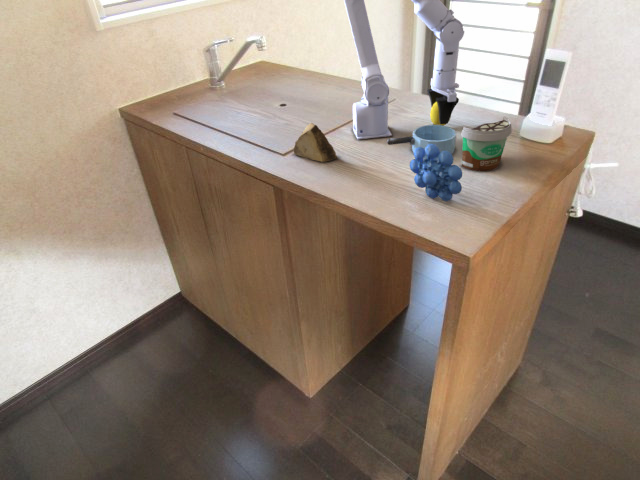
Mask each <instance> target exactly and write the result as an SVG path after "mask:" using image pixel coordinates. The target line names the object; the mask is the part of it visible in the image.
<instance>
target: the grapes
mask: <svg viewBox="0 0 640 480" xmlns="http://www.w3.org/2000/svg"><path fill="white" fill-rule="evenodd" d="M413 157H414V159H413V158H412V159H411V160H410V162H409V165H408V166H409V169H410V170H411V172H412V173H414V174H415V175H414V176H413V177H414V178H413V181H414V184H415V186H416V187H418V188H420V189H424V188H425V189H424V192H425V194H426V196H427V197H428V198H430V199H433V200H434V199H437V198H438V197H439V199H441V200H442V201H444V202H451V200H452V199H453V195H459V194H461V192H462V188H463V186H462V183H461V182H460V181H459V180H461V179H462V178H463V170H462V168H461V167H460V166H459V165H457V164H454V161H455V159H454V155H453V154H451V153H450V152H449V151H446V150H445V151H441V152H440V151H439V148H438V147H437V146H436V145H435V144H432V143H431V144H428V145H427V146H426V147H425V149H424V148H422V147H418V148H416V149H415V150H414V152H413Z"/></svg>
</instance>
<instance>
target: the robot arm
mask: <svg viewBox="0 0 640 480" xmlns="http://www.w3.org/2000/svg"><path fill="white" fill-rule="evenodd" d="M410 1H411V2H412V3H413V13H414V14H415V15H416V16H417V17H418V18H419V20H420V21H422V23H423V24H425V26H426V27H427V28H428V29H429V30H430V31H432V32H433V35H434V36H435V37H436V39H435V49H434V60H433V72H432V77H431V78H430V86H431V87H430V88H427V90H426V93H427V95H428V98H429V100H430V105H431V108H432V106H433V104H434V103H435V102H437V104H438V108H439V122H440V124H446V125H447V124H449V122H450V120H451V118H450V116H451V117H452V113H453V111H454V109H455V107H456V106H457V104H458V103H459V102H460V98H459V97H458V93H457V92H456V89H459V88H460V84H459V83H457V82H456V77H457V70H458V69H457V68H458V61H459V60H458V59H459V48H460V42H461V40H462V39H463V37H464V36H465V30H464V28H463V26H464V25H463V23H462V22H461V20H459V19H458V18H456V17H455V15H454V13H455V12H454V10H452V9H450V8H449V9H448V8H447V6H446V5H445V4H444V3H443V2H442V1H441V0H410ZM343 2H344V3H343V4H344V6H345V7H344V8H345V11H346V15H347V18H348V23H349V26H350V31H351V34H352V38H353V43H354V46H355V49H356V54H357V59H358V62H359V65H360V71H361V81H360V87H361V89H362V90H363V95H362V97H360V100H359V101H358V102H353V103H352V130H353V133H354V135H355V137H356V139H357V140H368V139H377V138H387V137H392V132H391V130H390V129H389V127H388V125H389V96H390V87H389V85H388V83H386V80H385V76H384V75H383V74H382V70H381V68H380V64H379V63H380V62H379V60H378V55H377V51H376V46H375V42H374V38H373V33H372V29H371V24H370V20H369V16H368V11H367V7H366V3H365V0H343ZM449 119H450V120H449Z"/></svg>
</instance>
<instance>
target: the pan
mask: <svg viewBox="0 0 640 480" xmlns="http://www.w3.org/2000/svg"><path fill="white" fill-rule="evenodd" d="M412 137H413V138H414V139H415V144H414V145H411V150H412V153H414V150H415V149H416V148H418V147H422V148H424V149H425V147H426V146H427V145H428V144H431V143H432V144H435V145H436V146H437V147H438V148H439V151H440V152H441V151H445V150H446V151H449V152H450V153H451V154H452V155H453V154H454V153H455V148H456V142H457V141H456V140H457V131H456V130H455V129H454V128H453V127H450V126H448V125H444V126H443V125H434V124H424V125H421V126H418V127H416V128H414V129H413V132H412Z"/></svg>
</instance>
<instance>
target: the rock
mask: <svg viewBox="0 0 640 480" xmlns="http://www.w3.org/2000/svg"><path fill="white" fill-rule="evenodd" d="M293 154H294V155H296V156H299V157H302V158H305V159H309V160H313V161H318V162H320V163H321V162H322V163H325V162H329V161H330V162H331V161H333V160H335V159H338V156H337V152H336V151H335V149H334V147H333V145H332V144H331V142H329V140H328V138H327V137H326V135H325V134H324V132H323V131H322V130H321V129H320V128H319V126H318V125H316V124H315V123H313V122H310V123H309V124H307V125H306V126H305V128H304V129H303V131H302V132H301V134H300V135H299V137H298V138H297V140H295V142H294V147H293Z"/></svg>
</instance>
